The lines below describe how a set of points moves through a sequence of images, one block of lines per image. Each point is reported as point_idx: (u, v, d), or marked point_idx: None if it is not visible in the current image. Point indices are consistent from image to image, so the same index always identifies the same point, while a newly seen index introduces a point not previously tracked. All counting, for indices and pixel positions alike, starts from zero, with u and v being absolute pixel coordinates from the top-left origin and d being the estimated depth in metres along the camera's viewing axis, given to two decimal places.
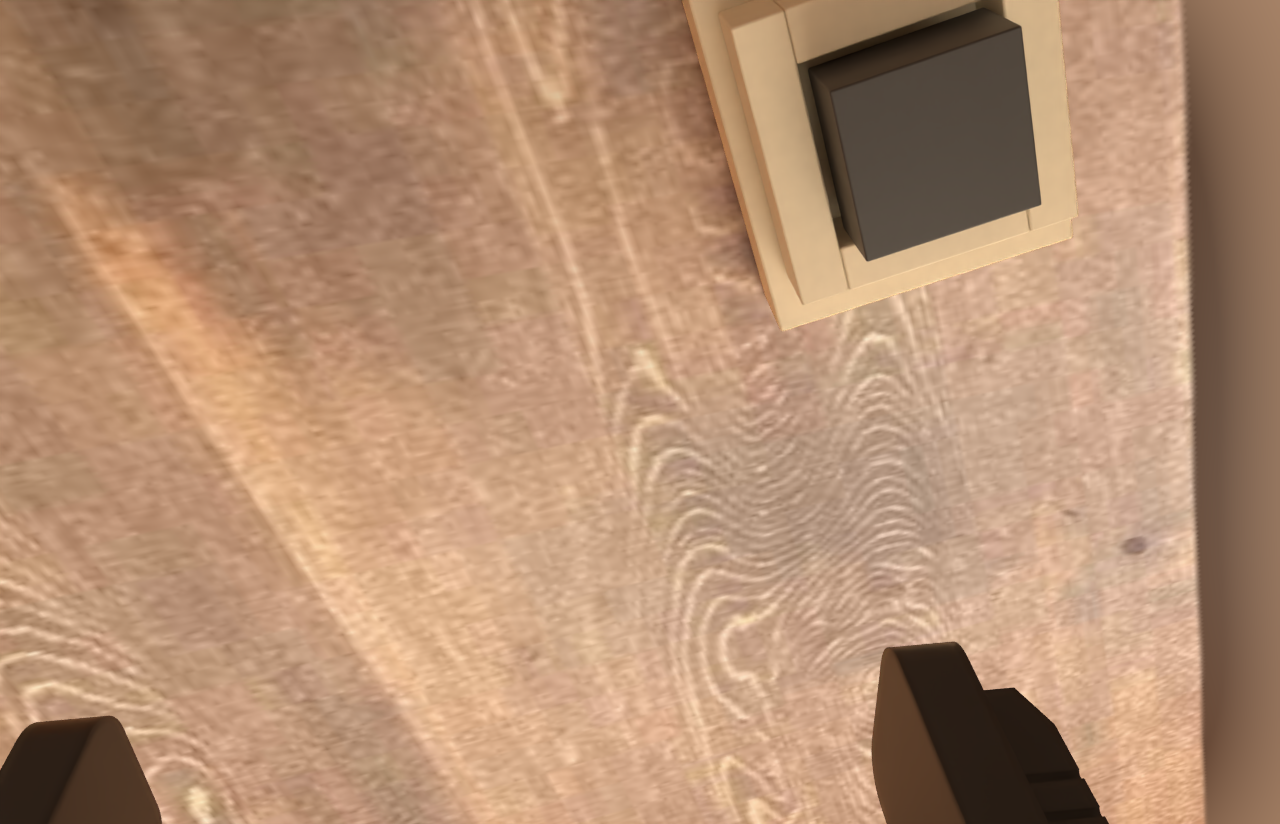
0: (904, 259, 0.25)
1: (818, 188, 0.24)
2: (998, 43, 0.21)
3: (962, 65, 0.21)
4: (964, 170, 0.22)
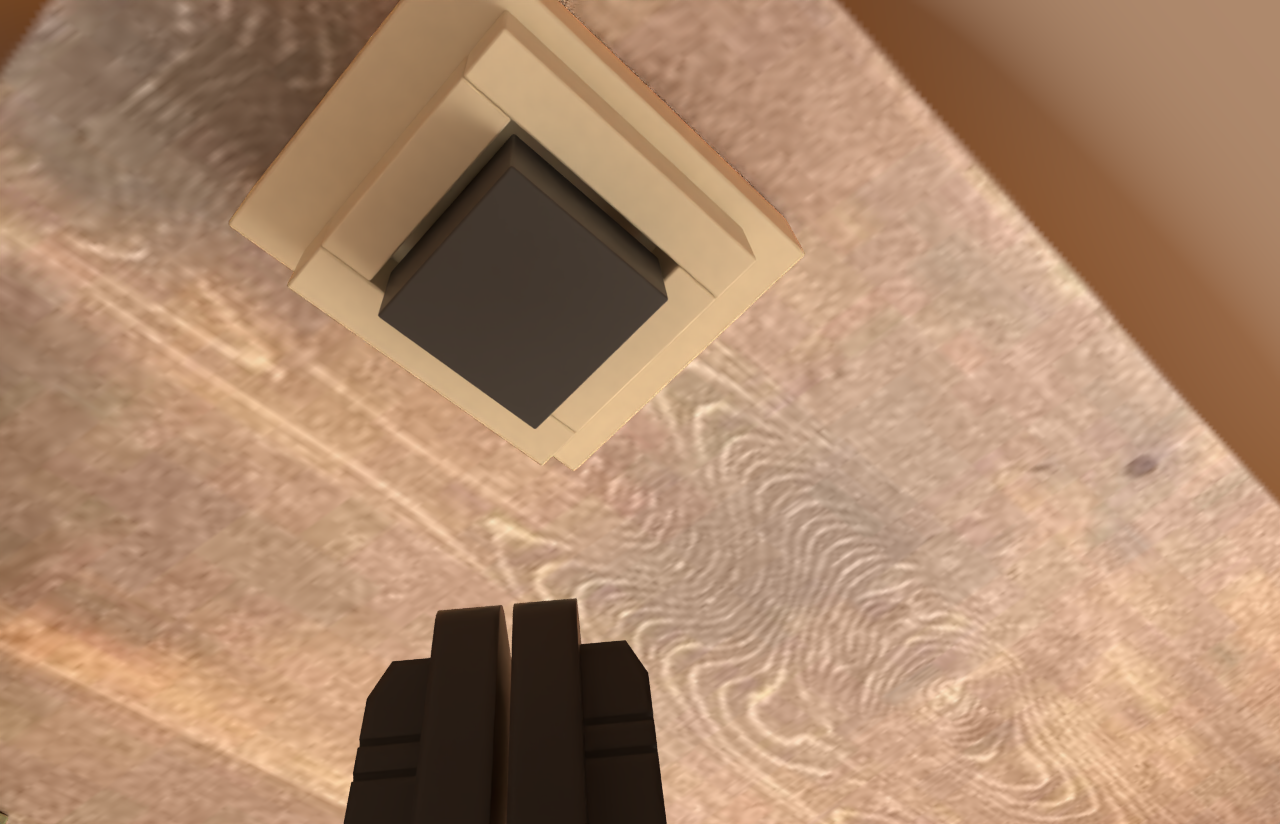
0: (607, 383, 0.23)
1: None
2: (501, 192, 0.19)
3: (482, 229, 0.19)
4: (562, 311, 0.20)
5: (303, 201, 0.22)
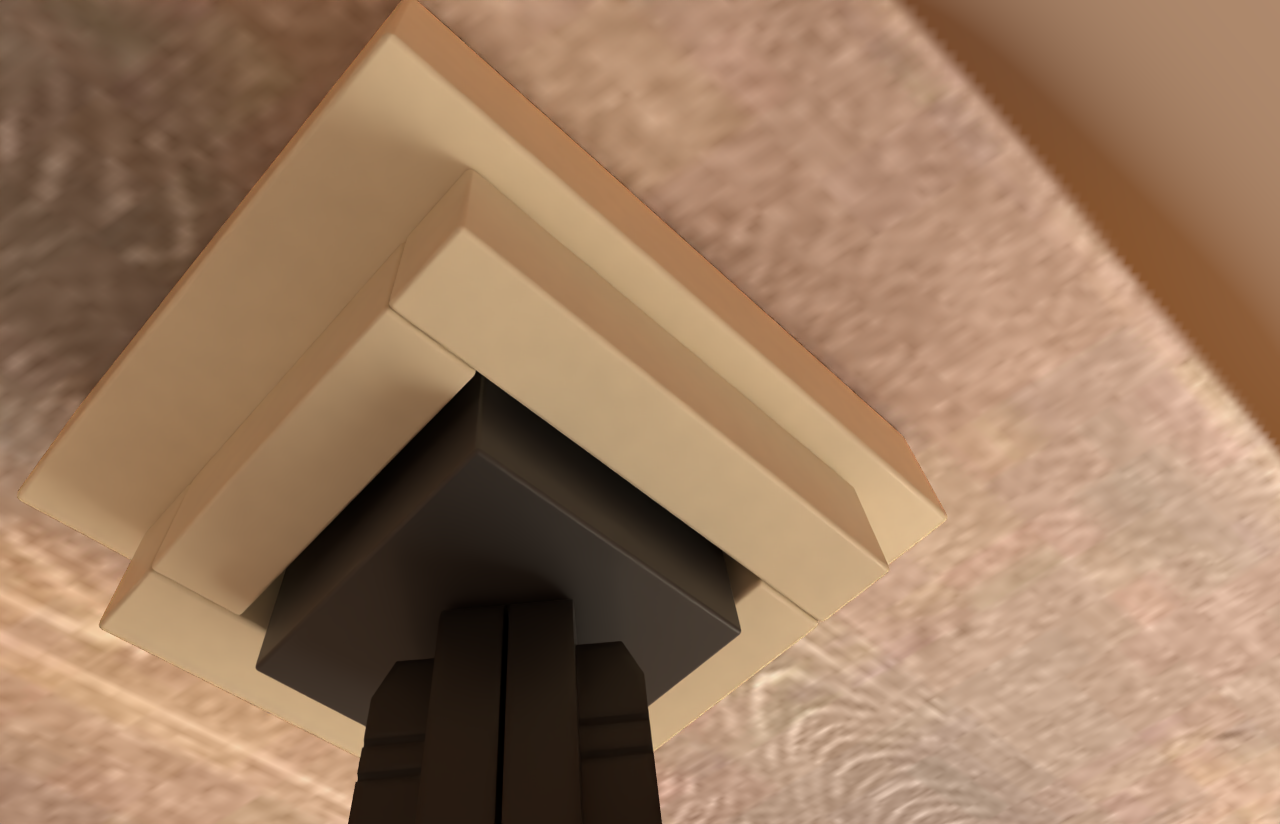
0: None
1: None
2: (461, 490, 0.11)
3: (427, 543, 0.11)
4: None
5: (137, 463, 0.13)
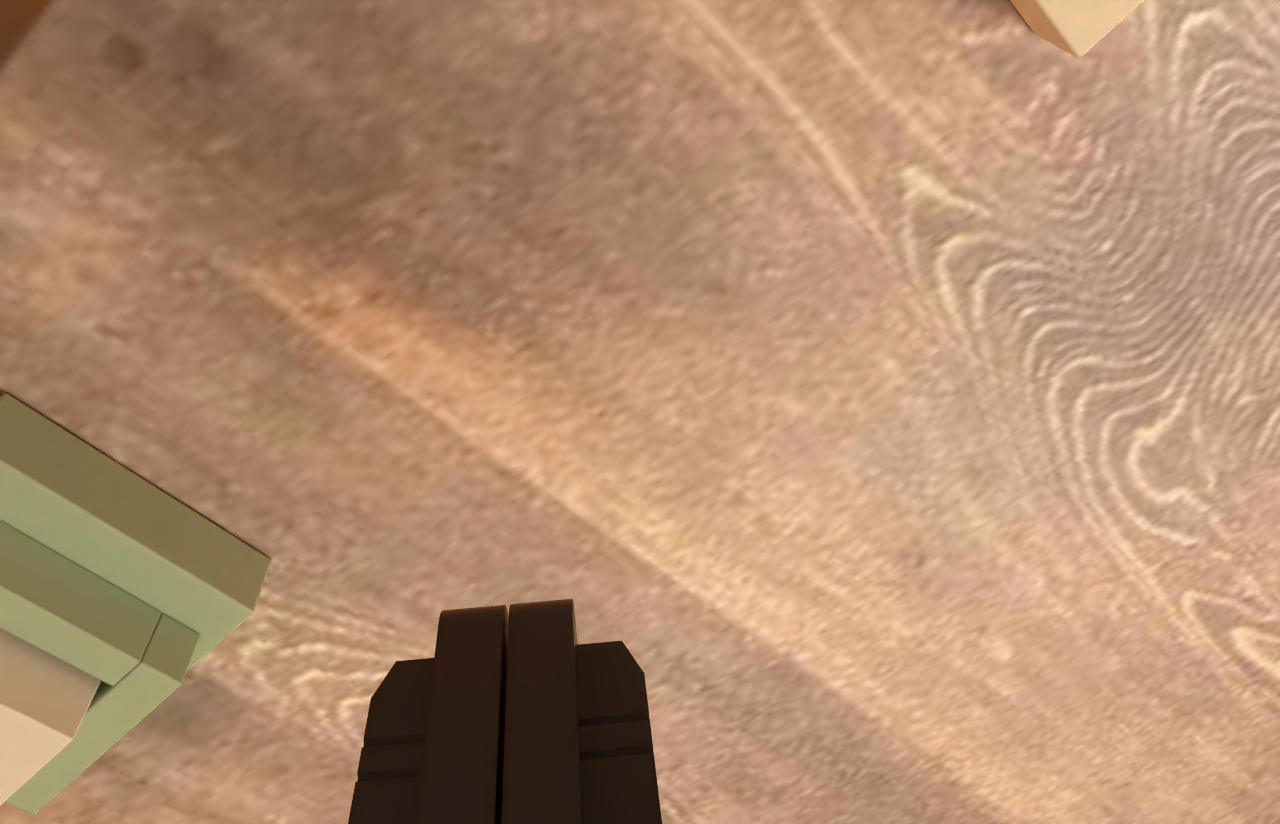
0: None
1: None
2: None
3: None
4: None
5: None
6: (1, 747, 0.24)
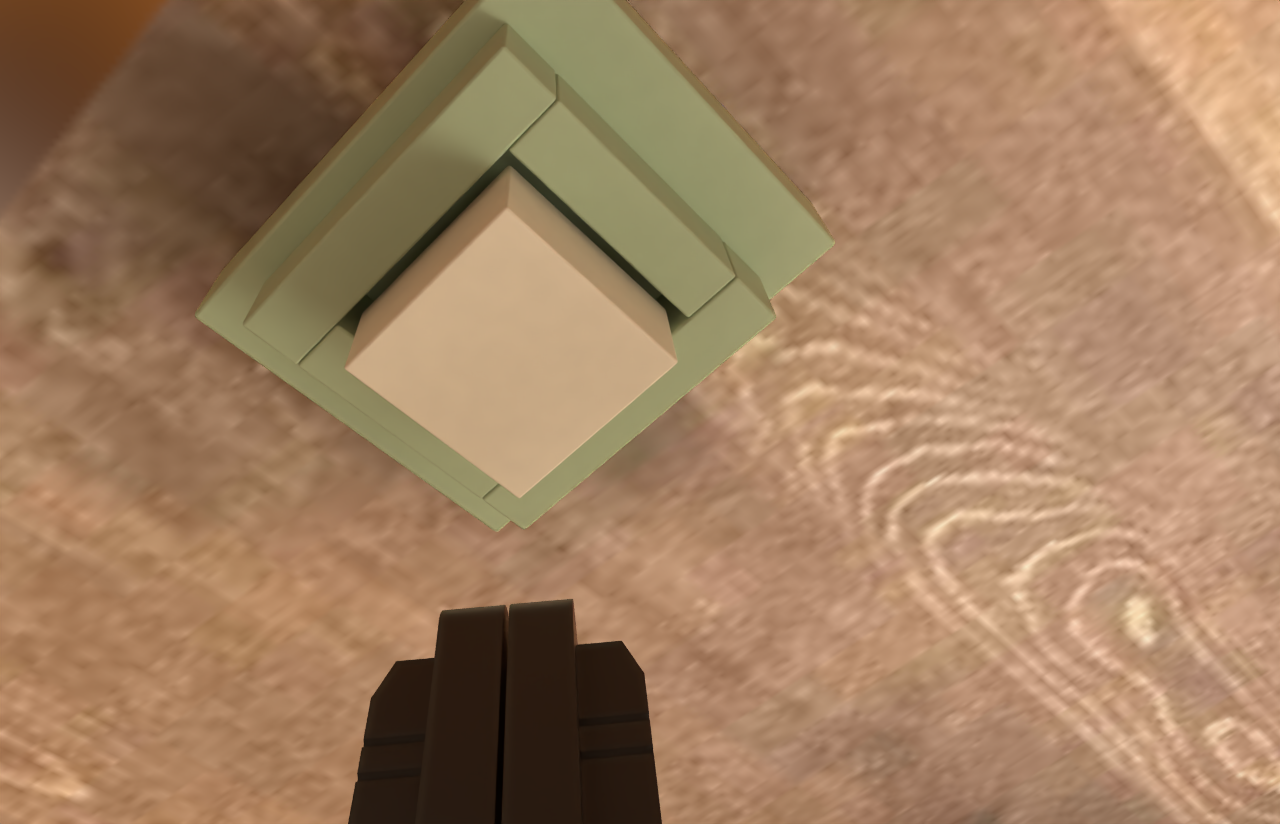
0: None
1: None
2: None
3: None
4: None
5: None
6: (581, 371, 0.18)
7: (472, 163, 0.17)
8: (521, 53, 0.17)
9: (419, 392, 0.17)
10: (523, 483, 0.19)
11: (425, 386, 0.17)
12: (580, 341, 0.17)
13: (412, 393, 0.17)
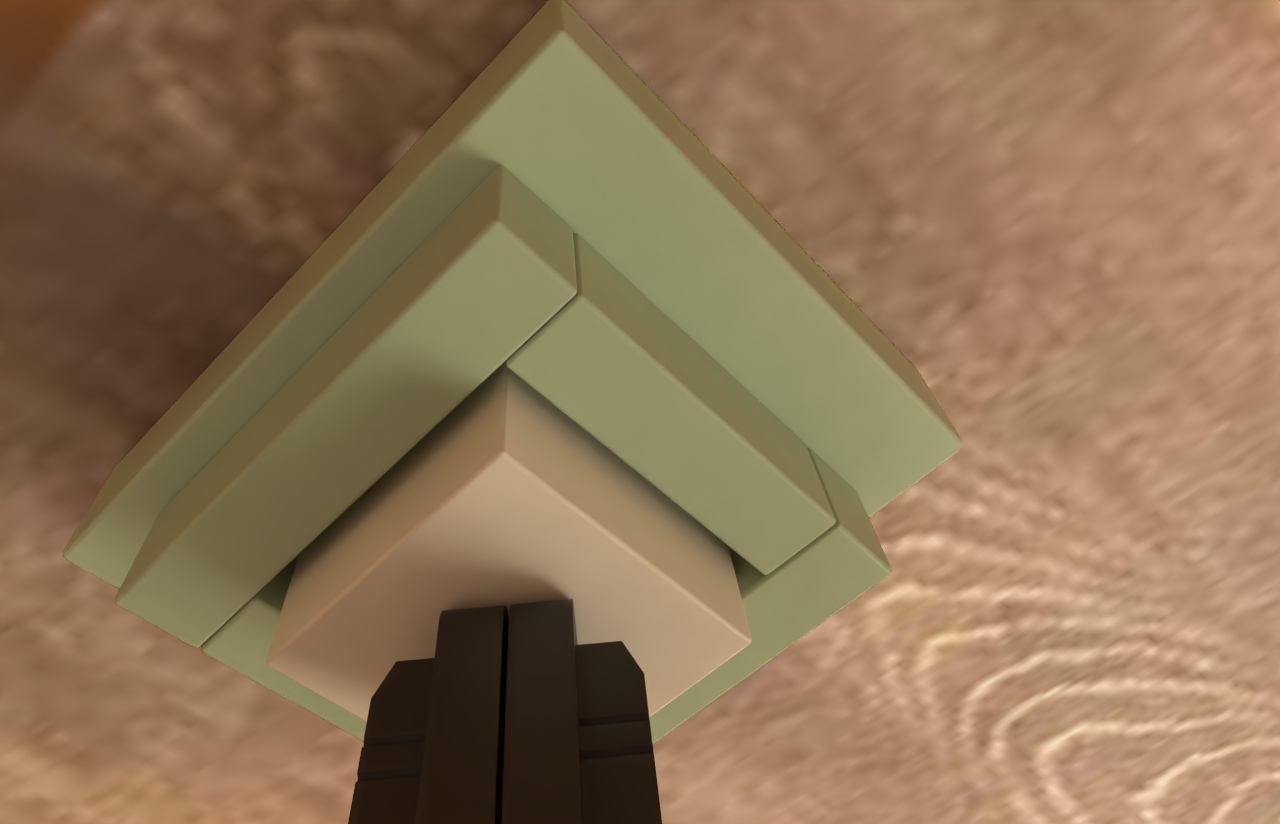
0: None
1: None
2: None
3: None
4: None
5: None
6: None
7: (449, 384, 0.11)
8: (523, 221, 0.11)
9: None
10: None
11: None
12: (611, 620, 0.12)
13: (366, 691, 0.12)
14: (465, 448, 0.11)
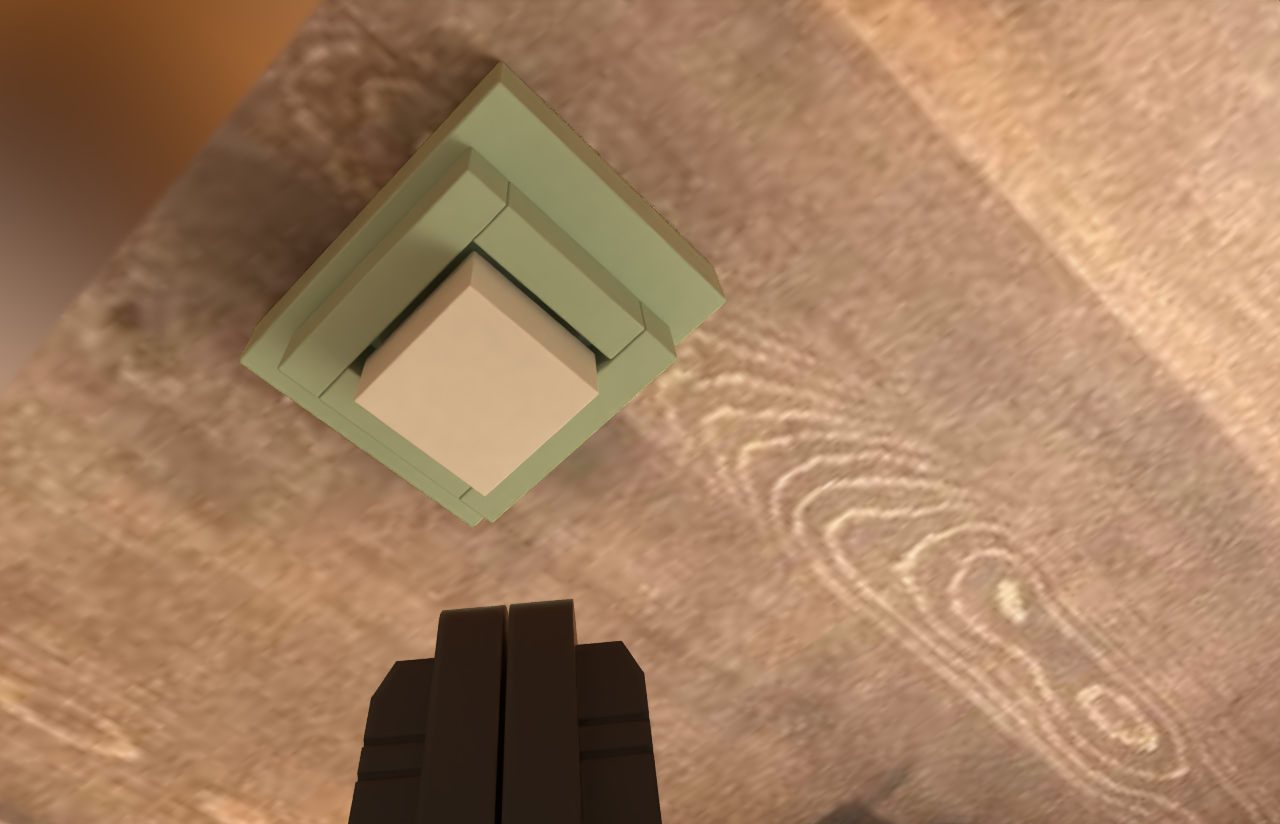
0: None
1: None
2: None
3: None
4: None
5: None
6: (528, 401, 0.24)
7: (446, 250, 0.23)
8: (481, 171, 0.23)
9: (408, 417, 0.24)
10: (487, 485, 0.25)
11: (412, 413, 0.24)
12: (526, 379, 0.24)
13: (403, 418, 0.24)
14: (452, 289, 0.23)
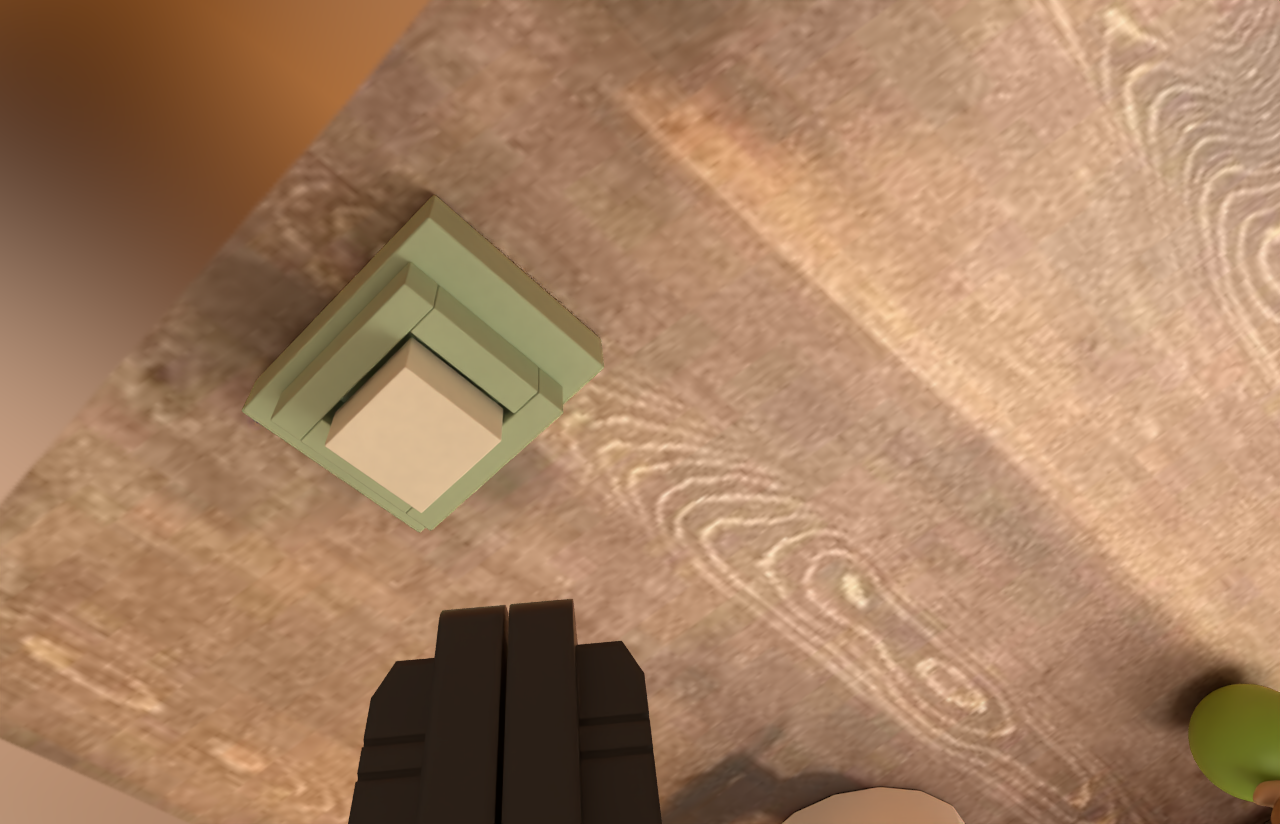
0: None
1: None
2: None
3: None
4: None
5: None
6: (449, 446, 0.33)
7: (391, 338, 0.33)
8: (415, 283, 0.33)
9: (364, 457, 0.33)
10: (423, 504, 0.34)
11: (367, 454, 0.33)
12: (447, 431, 0.33)
13: (360, 458, 0.33)
14: (394, 367, 0.32)
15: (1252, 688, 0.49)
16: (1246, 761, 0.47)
